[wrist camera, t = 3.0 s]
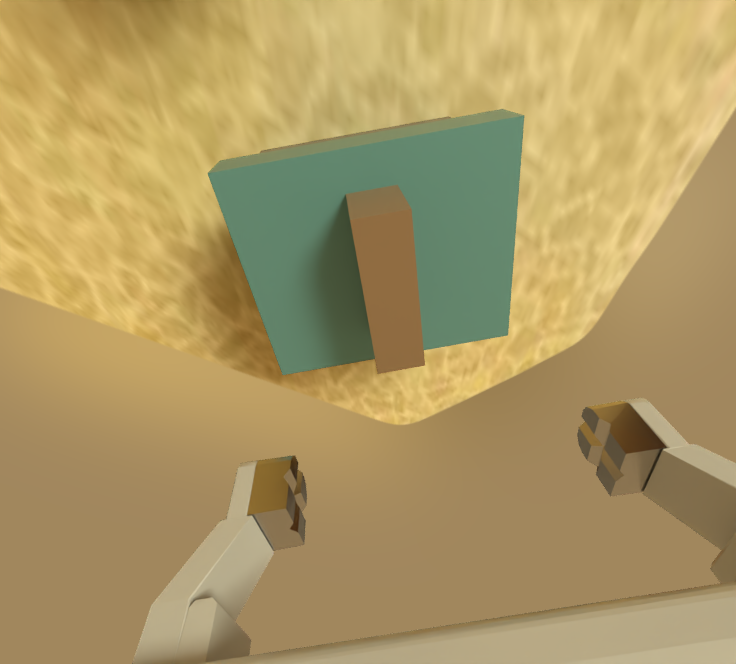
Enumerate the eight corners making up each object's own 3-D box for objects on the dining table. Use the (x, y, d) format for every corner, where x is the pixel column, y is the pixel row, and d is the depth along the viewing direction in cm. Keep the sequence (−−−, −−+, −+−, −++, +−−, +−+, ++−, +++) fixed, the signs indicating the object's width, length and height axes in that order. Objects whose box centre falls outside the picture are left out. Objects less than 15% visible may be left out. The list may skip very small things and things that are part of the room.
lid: (285, 349, 26) (277, 418, 21) (220, 160, 19) (184, 197, 14) (493, 313, 26) (533, 373, 21) (502, 109, 19) (565, 127, 14)
